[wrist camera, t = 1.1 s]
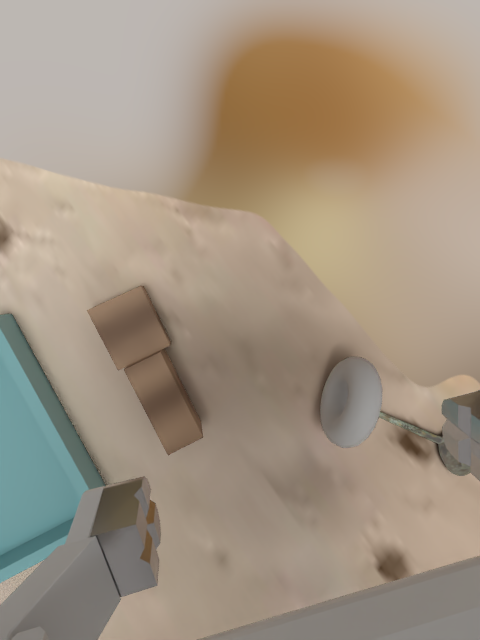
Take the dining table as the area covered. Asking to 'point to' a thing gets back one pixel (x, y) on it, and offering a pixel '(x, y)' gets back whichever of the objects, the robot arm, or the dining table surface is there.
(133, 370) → the stepped brown block
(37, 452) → the serving bin
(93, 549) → the robot arm
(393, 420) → the soupspoon
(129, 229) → the dining table surface
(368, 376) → the donut
